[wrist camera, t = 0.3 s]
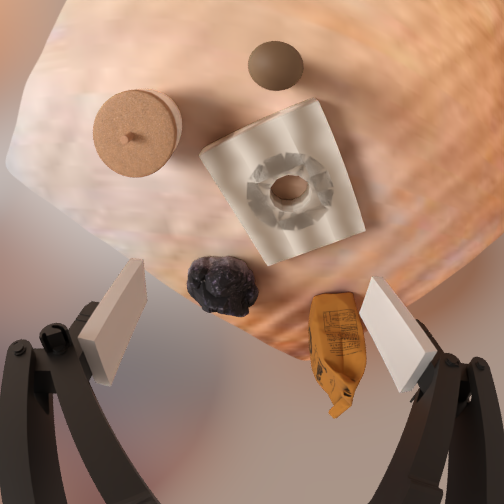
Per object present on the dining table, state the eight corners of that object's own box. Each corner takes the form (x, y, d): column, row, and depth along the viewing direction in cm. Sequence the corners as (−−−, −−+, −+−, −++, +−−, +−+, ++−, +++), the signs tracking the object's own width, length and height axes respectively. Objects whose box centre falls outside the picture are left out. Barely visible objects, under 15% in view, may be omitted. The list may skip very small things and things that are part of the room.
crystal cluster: (232, 308, 57) (234, 349, 50) (172, 284, 52) (165, 325, 44) (271, 266, 51) (279, 308, 43) (205, 234, 46) (201, 275, 38)
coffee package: (300, 327, 59) (306, 422, 42) (310, 287, 52) (323, 398, 34) (343, 327, 59) (358, 418, 42) (359, 289, 51) (386, 392, 34)
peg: (278, 45, 27) (288, 32, 15) (293, 73, 29) (313, 79, 17) (248, 58, 28) (237, 54, 16) (263, 85, 30) (263, 99, 19)
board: (313, 97, 31) (318, 100, 28) (359, 218, 42) (365, 230, 39) (203, 147, 36) (198, 155, 33) (267, 252, 47) (267, 266, 44)
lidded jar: (185, 75, 30) (160, 81, 22) (197, 150, 36) (179, 177, 29) (113, 94, 31) (75, 108, 23) (129, 161, 37) (99, 190, 30)
